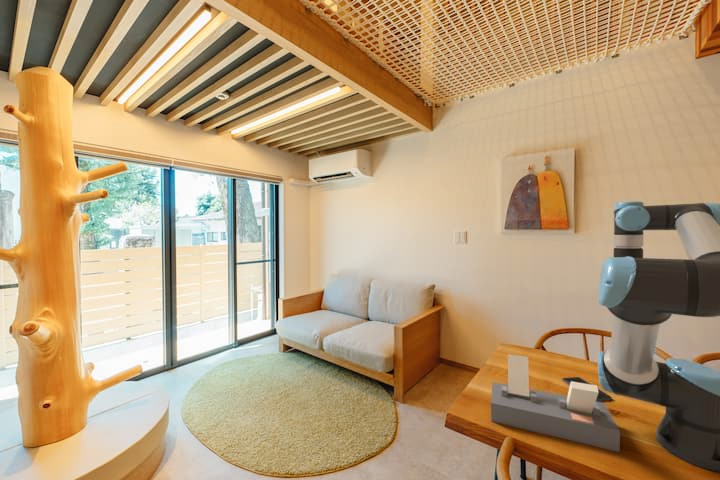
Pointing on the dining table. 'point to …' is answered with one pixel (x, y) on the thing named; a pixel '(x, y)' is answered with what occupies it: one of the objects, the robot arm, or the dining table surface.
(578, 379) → the phone
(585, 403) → the lever
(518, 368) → the lever
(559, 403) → the switch unit
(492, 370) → the dining table surface
